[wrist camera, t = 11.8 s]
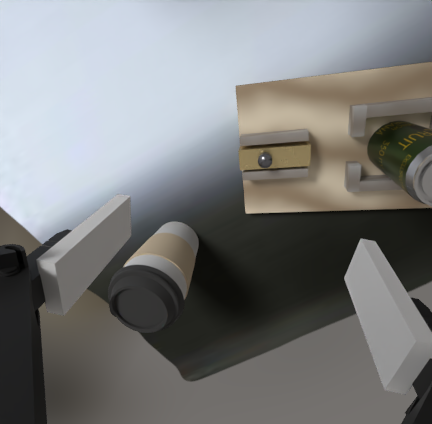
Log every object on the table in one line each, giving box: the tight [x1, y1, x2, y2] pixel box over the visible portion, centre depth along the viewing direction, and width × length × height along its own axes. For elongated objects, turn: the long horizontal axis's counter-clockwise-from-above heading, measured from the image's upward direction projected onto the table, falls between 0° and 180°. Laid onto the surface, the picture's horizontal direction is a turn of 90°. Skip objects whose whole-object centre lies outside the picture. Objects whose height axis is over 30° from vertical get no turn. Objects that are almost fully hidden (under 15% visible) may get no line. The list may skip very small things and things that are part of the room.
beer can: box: [367, 121, 432, 206], centre depth 27 cm, size 5×5×12 cm
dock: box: [236, 62, 432, 214], centre depth 33 cm, size 16×24×3 cm, turn 97°
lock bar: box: [239, 141, 311, 170], centre depth 33 cm, size 2×8×3 cm, turn 97°
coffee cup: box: [108, 222, 199, 333], centre depth 38 cm, size 9×9×15 cm
